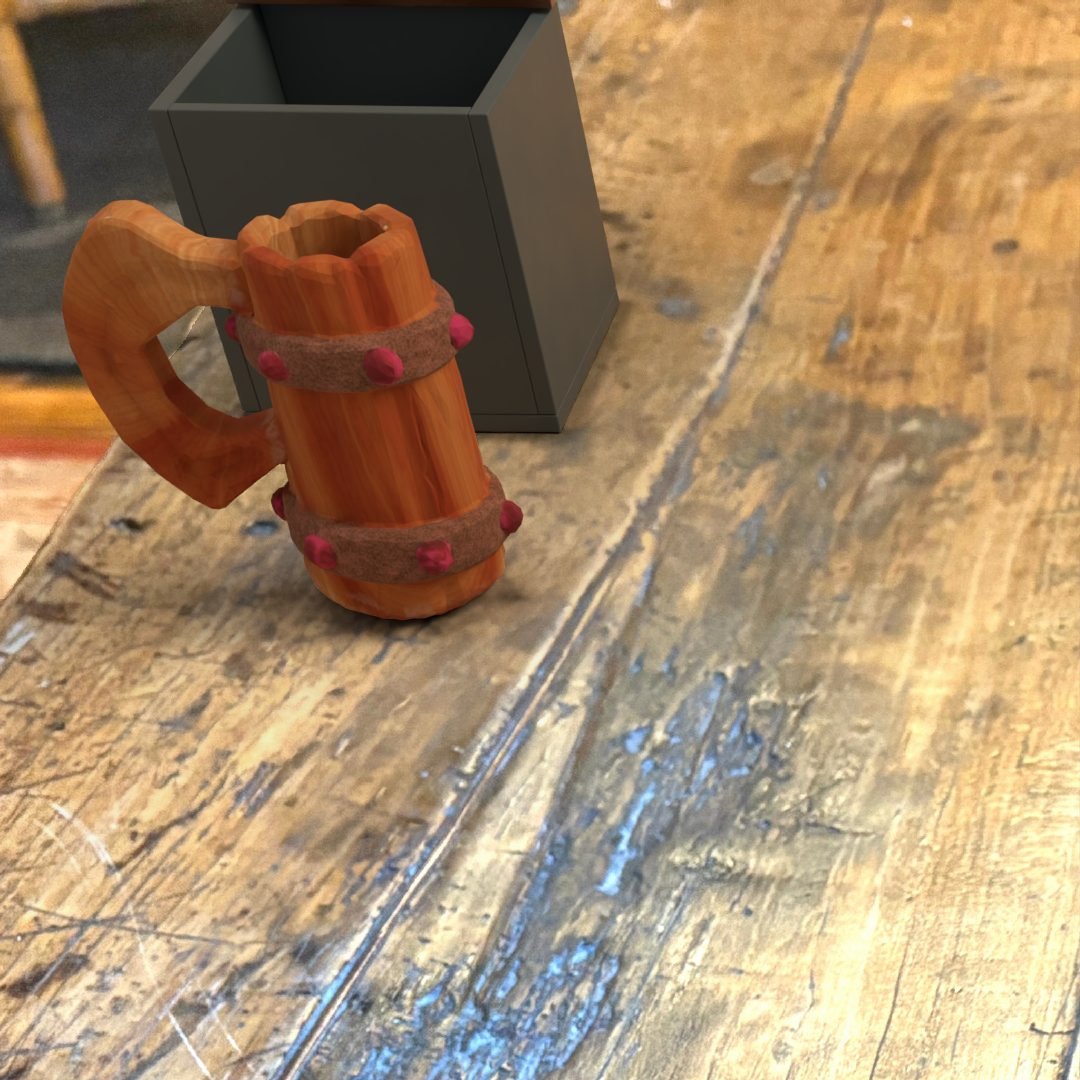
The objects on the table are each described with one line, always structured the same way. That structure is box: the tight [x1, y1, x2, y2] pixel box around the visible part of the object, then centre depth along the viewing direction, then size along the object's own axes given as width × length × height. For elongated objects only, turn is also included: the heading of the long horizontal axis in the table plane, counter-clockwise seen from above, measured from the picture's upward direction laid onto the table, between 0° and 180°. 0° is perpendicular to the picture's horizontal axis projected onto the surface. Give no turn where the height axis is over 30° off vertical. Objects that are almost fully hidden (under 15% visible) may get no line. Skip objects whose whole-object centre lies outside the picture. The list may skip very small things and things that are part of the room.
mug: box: [61, 199, 524, 621], centre depth 102 cm, size 15×8×15 cm, turn 94°
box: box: [147, 0, 620, 433], centre depth 117 cm, size 14×14×13 cm
